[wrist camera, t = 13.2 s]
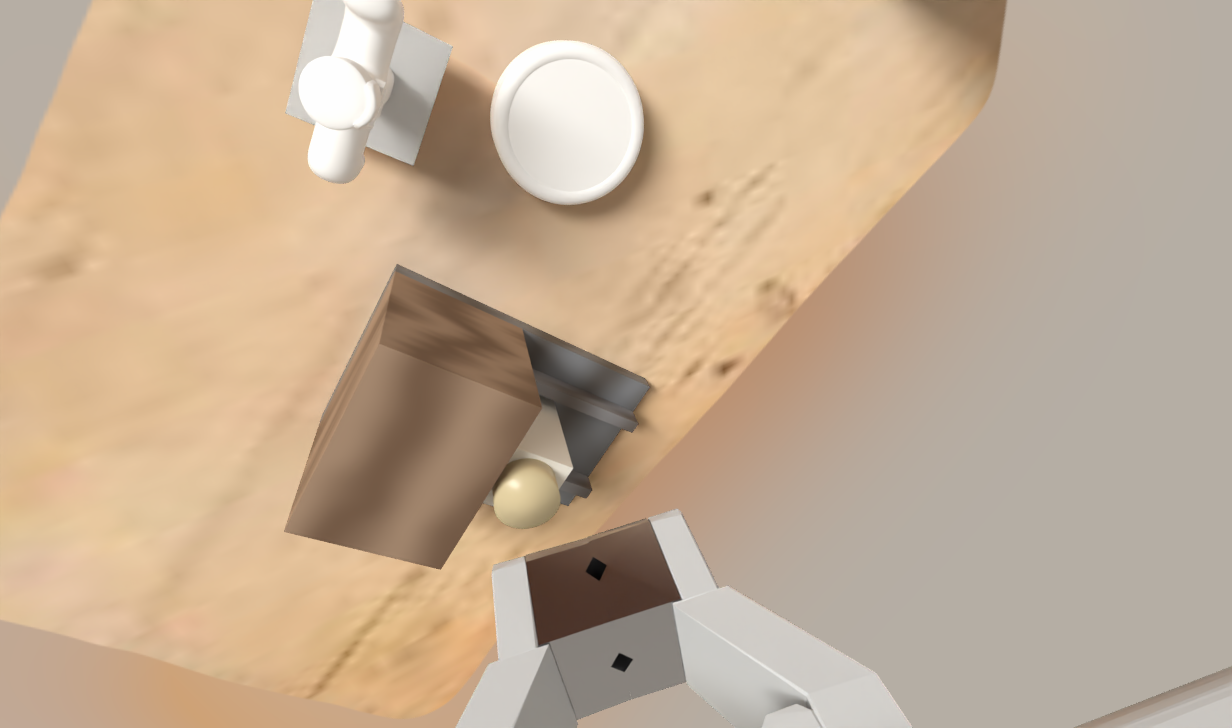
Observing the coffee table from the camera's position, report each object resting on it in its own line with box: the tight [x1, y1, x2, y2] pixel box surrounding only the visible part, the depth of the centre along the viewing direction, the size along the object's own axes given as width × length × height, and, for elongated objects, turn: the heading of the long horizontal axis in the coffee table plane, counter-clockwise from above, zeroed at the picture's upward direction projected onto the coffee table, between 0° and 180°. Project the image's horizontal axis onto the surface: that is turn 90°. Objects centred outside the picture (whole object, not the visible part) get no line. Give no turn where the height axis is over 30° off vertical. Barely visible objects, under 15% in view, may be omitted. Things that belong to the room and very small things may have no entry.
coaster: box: [490, 40, 644, 205], centre depth 40 cm, size 10×10×4 cm
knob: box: [483, 395, 573, 529], centre depth 45 cm, size 5×5×11 cm
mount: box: [284, 264, 650, 570], centre depth 45 cm, size 22×14×13 cm, turn 57°
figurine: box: [285, 0, 453, 184], centre depth 31 cm, size 7×9×15 cm
